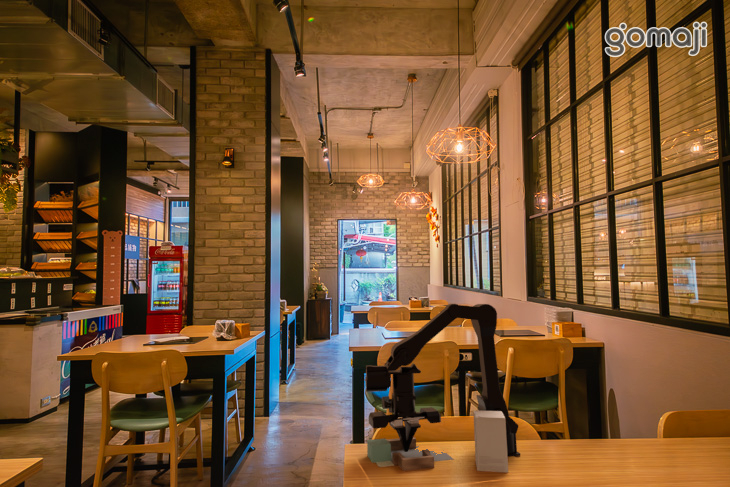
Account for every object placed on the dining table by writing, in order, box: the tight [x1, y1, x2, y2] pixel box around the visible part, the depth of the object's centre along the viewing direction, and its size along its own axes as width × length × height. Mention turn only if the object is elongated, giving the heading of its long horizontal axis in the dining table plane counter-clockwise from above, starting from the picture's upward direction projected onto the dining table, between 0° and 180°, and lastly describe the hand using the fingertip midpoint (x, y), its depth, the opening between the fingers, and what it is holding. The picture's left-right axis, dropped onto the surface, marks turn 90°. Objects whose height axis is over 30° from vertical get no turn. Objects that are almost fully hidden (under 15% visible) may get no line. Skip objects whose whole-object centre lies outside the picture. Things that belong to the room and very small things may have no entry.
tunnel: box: [386, 436, 435, 472], centre depth 112 cm, size 10×16×3 cm, turn 13°
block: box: [366, 438, 391, 464], centre depth 112 cm, size 5×5×4 cm
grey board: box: [375, 445, 455, 468], centre depth 114 cm, size 20×12×1 cm, turn 103°
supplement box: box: [473, 410, 509, 473], centre depth 106 cm, size 7×7×13 cm
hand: (405, 451), depth 114 cm, fingers closed
